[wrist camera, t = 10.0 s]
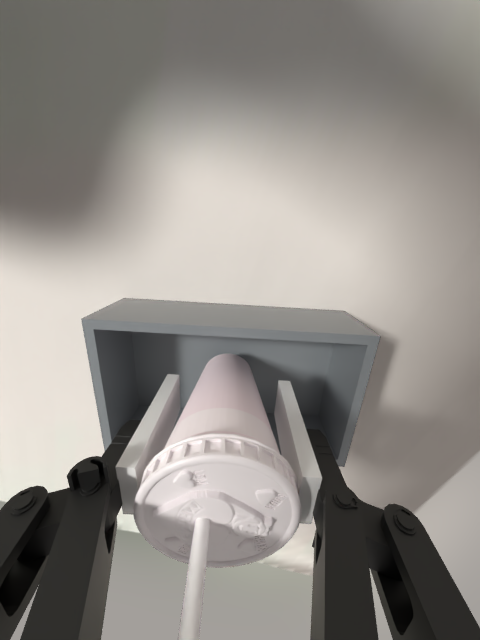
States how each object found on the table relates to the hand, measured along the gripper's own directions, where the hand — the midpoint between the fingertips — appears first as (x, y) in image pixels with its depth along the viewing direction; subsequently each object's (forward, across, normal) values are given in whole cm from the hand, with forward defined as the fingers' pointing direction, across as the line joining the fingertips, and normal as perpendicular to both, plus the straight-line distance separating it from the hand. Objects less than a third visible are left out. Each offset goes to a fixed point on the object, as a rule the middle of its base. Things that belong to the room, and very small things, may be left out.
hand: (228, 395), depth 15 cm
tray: (+4, 0, 0) cm, 4 cm away
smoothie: (+3, 0, 0) cm, 3 cm away
